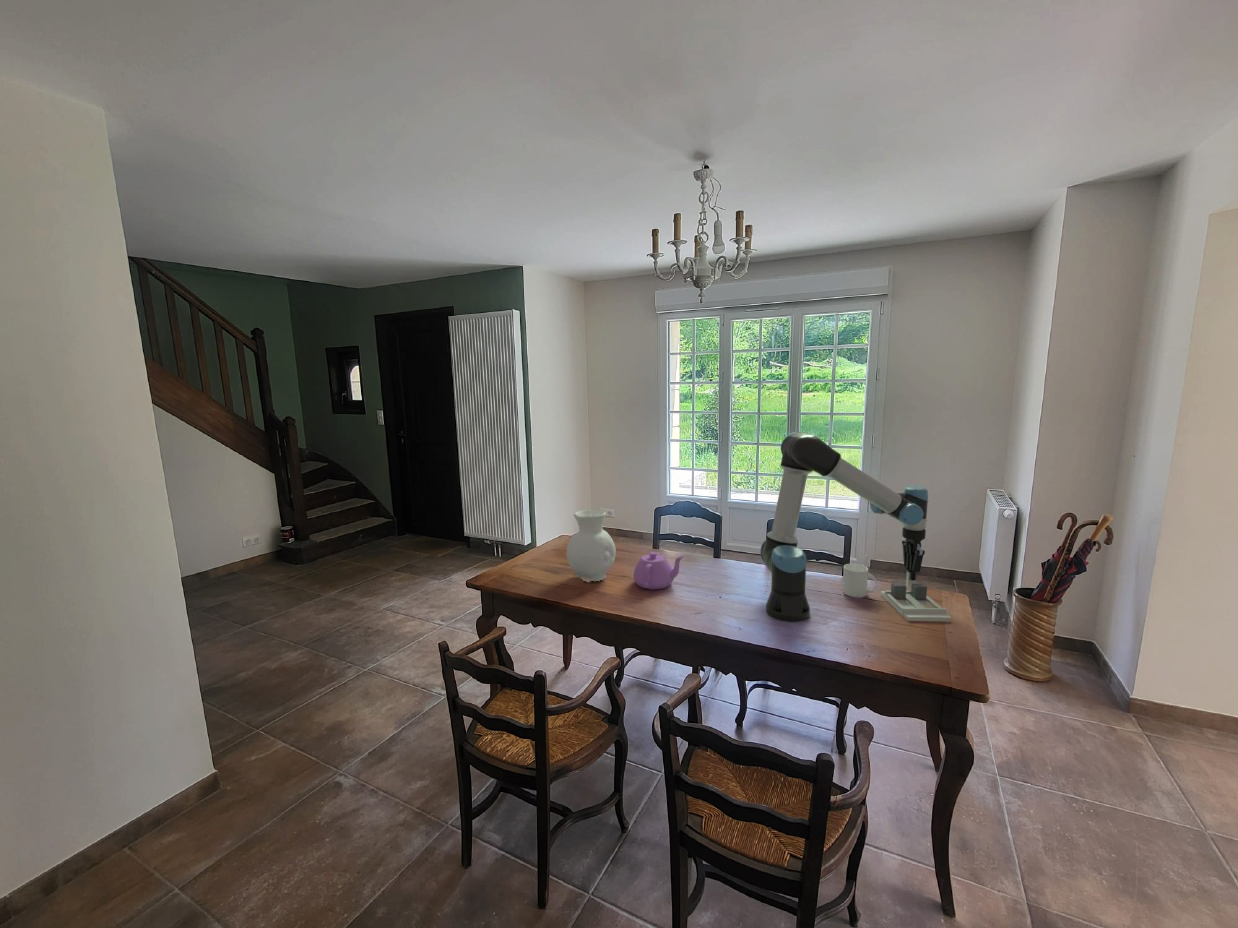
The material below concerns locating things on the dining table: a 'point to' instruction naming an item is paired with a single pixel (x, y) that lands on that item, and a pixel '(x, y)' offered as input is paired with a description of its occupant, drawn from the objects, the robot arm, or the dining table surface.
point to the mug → (856, 580)
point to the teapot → (655, 571)
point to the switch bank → (917, 608)
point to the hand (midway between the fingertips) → (910, 587)
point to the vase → (591, 546)
